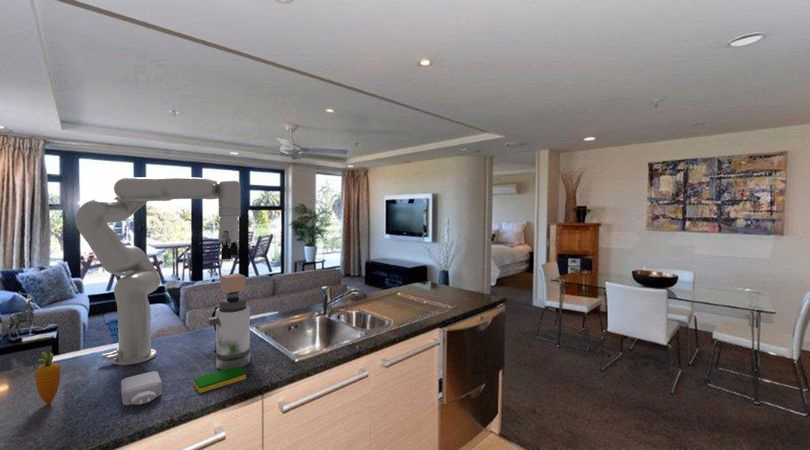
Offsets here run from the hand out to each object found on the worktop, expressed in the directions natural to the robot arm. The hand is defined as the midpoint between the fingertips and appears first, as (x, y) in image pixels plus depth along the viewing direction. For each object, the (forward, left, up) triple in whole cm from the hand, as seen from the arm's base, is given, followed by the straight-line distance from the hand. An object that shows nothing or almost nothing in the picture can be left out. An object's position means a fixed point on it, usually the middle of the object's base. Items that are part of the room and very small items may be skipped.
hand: (230, 257), depth 135 cm
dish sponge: (-11, -21, -38) cm, 45 cm away
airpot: (-4, -11, -37) cm, 39 cm away
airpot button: (-3, -10, -11) cm, 15 cm away
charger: (-31, -16, -38) cm, 51 cm away
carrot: (-50, -1, -38) cm, 62 cm away
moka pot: (0, +5, -38) cm, 38 cm away
